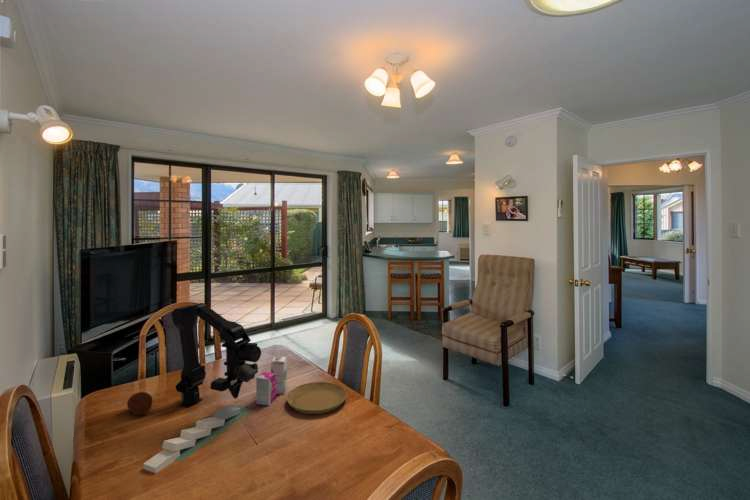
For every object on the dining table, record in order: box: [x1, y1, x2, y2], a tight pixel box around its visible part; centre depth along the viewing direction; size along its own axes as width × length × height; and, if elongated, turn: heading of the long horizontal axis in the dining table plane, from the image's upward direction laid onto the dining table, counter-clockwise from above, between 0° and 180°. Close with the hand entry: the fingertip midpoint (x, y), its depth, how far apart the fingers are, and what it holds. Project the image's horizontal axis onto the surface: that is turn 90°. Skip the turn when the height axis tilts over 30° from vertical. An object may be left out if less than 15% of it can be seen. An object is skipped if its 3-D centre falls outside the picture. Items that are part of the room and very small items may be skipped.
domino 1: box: [142, 448, 180, 474], centre depth 105 cm, size 5×2×8 cm
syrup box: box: [270, 356, 288, 395], centre depth 150 cm, size 6×6×14 cm
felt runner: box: [174, 404, 253, 463], centre depth 122 cm, size 10×32×1 cm, turn 159°
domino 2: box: [161, 436, 196, 451], centre depth 110 cm, size 5×2×8 cm
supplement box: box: [255, 371, 277, 407], centre depth 141 cm, size 6×6×12 cm
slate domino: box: [213, 405, 241, 419], centre depth 130 cm, size 5×2×8 cm
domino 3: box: [179, 426, 211, 440], centre depth 116 cm, size 5×2×8 cm
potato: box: [126, 391, 154, 416], centre depth 134 cm, size 8×12×8 cm, turn 63°
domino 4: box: [195, 416, 225, 430], centre depth 122 cm, size 5×2×8 cm
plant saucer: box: [286, 381, 348, 415], centre depth 142 cm, size 24×24×3 cm
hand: (235, 398), depth 133 cm, fingers closed
